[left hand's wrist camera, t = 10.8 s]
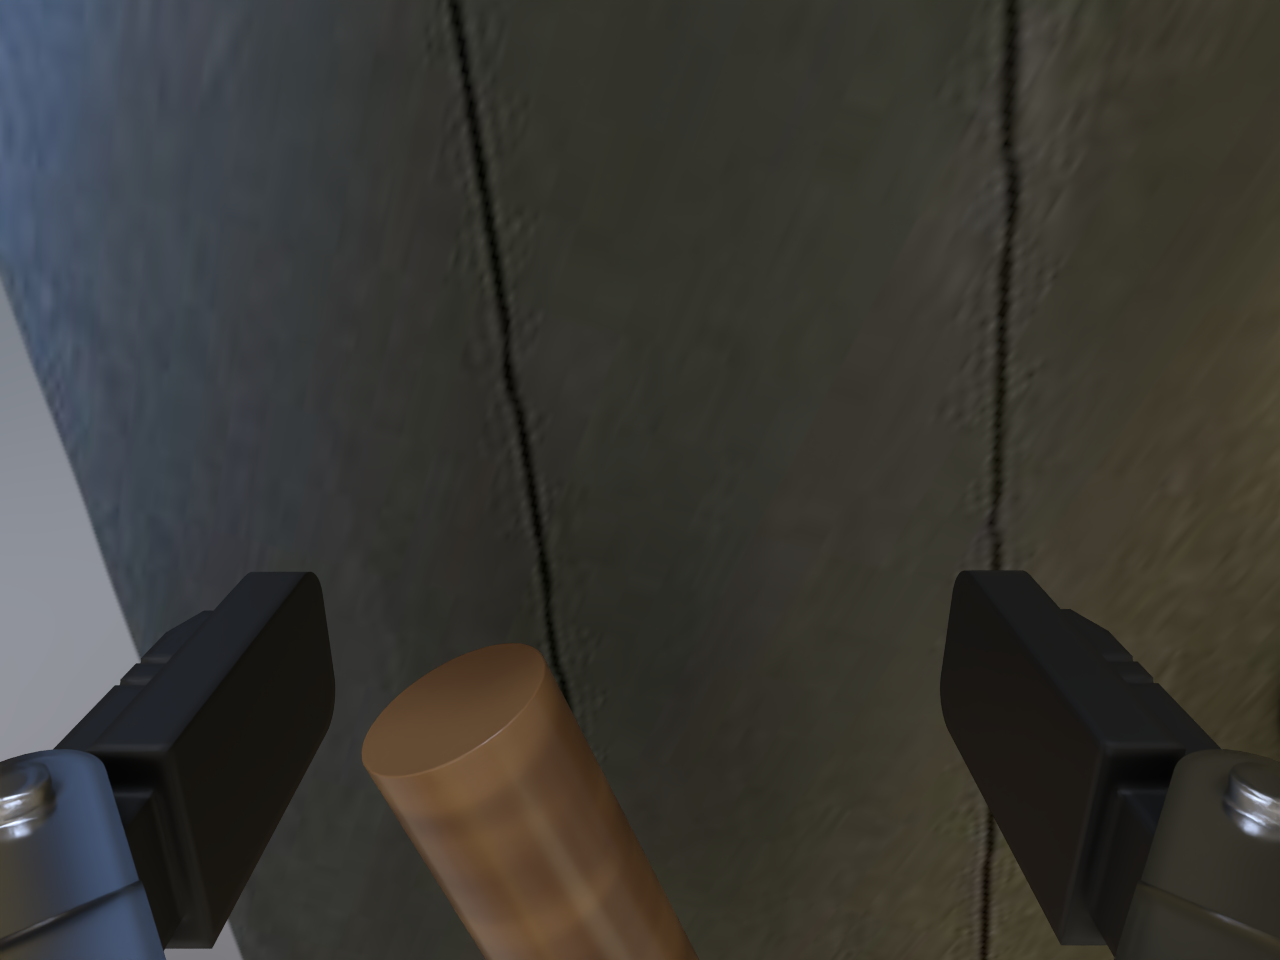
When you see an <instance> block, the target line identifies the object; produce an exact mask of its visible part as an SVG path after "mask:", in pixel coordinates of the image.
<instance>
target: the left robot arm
mask: <svg viewBox="0 0 1280 960" xmlns="http://www.w3.org/2000/svg"><path fill="white" fill-rule="evenodd" d="M1132 657H1133V656H1132V655H1131V654H1130V653H1129V652H1128V651H1127V650H1126V649H1125V648H1124V647H1123V646H1122V645H1121V644H1120V643H1119V642H1118V641H1117V640H1116V639H1115V638H1114V637H1113V636H1112V635H1111V633H1110V632H1109V631H1107V630H1106V629H1104V628H1102V627H1100V626H1099V625H1097V624H1095V623H1093V622H1092V621H1090V620H1088V619H1086V618H1085V617H1083V616H1081V615H1079V614H1078V613H1076V612H1074V611H1073V610H1071V609H1060V608H1059V607H1058V606H1057V605H1056V604H1055V602H1054V601H1053V600H1052V599H1051V598H1050V597H1049V596H1048V595H1047V594H1046V592H1045V591H1044V590H1043V589H1042V588H1041V587H1040V586H1039V585H1038V584H1037V582H1036V581H1035V580H1034V579H1033V578H1032V577H1031V576H1030V575H1029V574H1028V573H1027V572H1025V571H962V572H960V573H959V575H958V576H957V578H956V581H955V584H954V588H953V594H952V601H951V608H950V615H949V622H948V629H947V636H946V644H945V651H944V658H943V665H942V672H941V681H940V696H941V706H942V711H943V716H944V720H945V723H946V726H947V728H948V731H949V733H950V734H951V736H952V738H953V740H954V742H955V744H956V746H957V748H958V750H959V752H960V753H961V755H962V757H963V759H964V761H965V763H966V765H967V767H968V769H969V771H970V773H971V774H972V776H973V778H974V780H975V782H976V784H977V786H978V788H979V790H980V792H981V793H982V795H983V797H984V799H985V801H986V803H987V805H988V807H989V809H990V811H991V813H992V814H993V816H994V818H995V820H996V822H997V824H998V826H999V828H1000V830H1001V832H1002V834H1003V835H1004V837H1005V839H1006V841H1007V843H1008V845H1009V847H1010V849H1011V851H1012V853H1013V854H1014V856H1015V858H1016V860H1017V862H1018V864H1019V866H1020V868H1021V870H1022V872H1023V874H1024V875H1025V877H1026V879H1027V881H1028V883H1029V885H1030V887H1031V889H1032V891H1033V893H1034V894H1035V896H1036V898H1037V900H1038V902H1039V904H1040V906H1041V908H1042V910H1043V912H1044V914H1045V915H1046V917H1047V919H1048V921H1049V923H1050V925H1051V927H1052V929H1053V931H1054V933H1055V935H1056V936H1057V938H1058V940H1059V942H1060V944H1061V945H1108V947H1109V949H1110V950H1111V952H1112V954H1113V956H1114V957H1115V958H1114V960H1280V762H1278V761H1275V760H1273V759H1270V758H1266V757H1263V756H1259V755H1256V754H1251V753H1246V752H1242V751H1234V750H1226V749H1221V748H1220V747H1219V746H1218V745H1217V744H1216V743H1215V742H1214V741H1213V740H1212V739H1211V738H1210V737H1209V736H1208V735H1207V734H1206V733H1205V732H1204V730H1203V729H1202V728H1201V727H1200V726H1199V725H1198V724H1197V723H1196V722H1195V721H1194V720H1193V719H1192V718H1191V717H1190V716H1189V715H1188V714H1187V713H1186V712H1185V711H1184V710H1183V709H1182V708H1181V706H1180V705H1179V704H1178V703H1177V702H1176V701H1175V700H1174V699H1173V698H1172V697H1171V696H1170V695H1169V694H1168V693H1167V692H1166V691H1165V690H1164V689H1163V688H1162V687H1161V686H1160V685H1159V684H1158V683H1153V677H1152V676H1151V675H1150V674H1149V673H1148V672H1147V671H1146V670H1145V669H1144V668H1143V667H1142V666H1141V665H1140V664H1139V663H1138V662H1133V659H1132ZM334 703H335V678H334V671H333V664H332V657H331V650H330V643H329V636H328V629H327V622H326V615H325V608H324V601H323V594H322V588H321V585H320V582H319V579H318V578H317V576H316V575H315V574H314V573H312V572H250V573H248V574H247V575H246V576H245V577H244V578H243V579H242V580H241V581H240V582H239V583H238V584H237V586H236V587H235V588H234V589H233V590H232V591H231V592H230V593H229V594H228V595H227V597H226V598H225V599H224V600H223V601H222V602H221V603H220V604H219V605H218V606H217V608H216V609H215V610H214V611H203V612H201V613H199V614H198V615H196V616H194V617H192V618H191V619H189V620H187V621H185V622H184V623H182V624H180V625H178V626H177V627H175V628H173V629H172V630H170V631H168V632H166V633H165V634H164V635H163V636H162V637H161V638H160V639H159V640H158V641H157V642H156V644H155V645H154V646H153V647H152V648H151V649H150V650H149V651H148V652H147V653H146V654H145V655H144V656H143V657H142V658H141V663H137V664H135V665H134V666H133V667H132V668H131V669H130V670H129V671H128V672H127V673H126V675H125V676H124V677H123V678H122V679H121V682H120V685H115V686H114V687H113V688H112V689H111V690H110V691H109V692H108V693H107V694H106V695H105V696H104V697H103V698H102V699H101V701H99V702H98V703H97V705H96V706H95V707H94V708H93V709H92V710H91V711H90V712H89V713H88V714H87V715H86V716H85V717H84V718H83V719H82V720H81V721H80V722H79V723H78V724H77V725H76V726H75V727H74V728H73V729H72V730H71V731H70V732H69V734H68V735H67V736H66V737H65V738H64V739H63V740H62V741H61V742H60V743H59V744H58V745H57V746H56V747H55V748H54V749H53V750H46V751H38V752H34V753H29V754H24V755H21V756H17V757H14V758H10V759H7V760H5V761H2V762H0V960H166V958H165V955H164V949H166V948H170V949H171V948H172V949H173V948H176V949H179V948H184V949H187V948H188V949H189V948H190V949H193V948H196V949H197V948H198V949H199V948H200V949H201V948H203V949H204V948H205V949H207V948H209V949H211V948H212V947H213V946H214V944H215V942H216V940H217V938H218V936H219V934H220V932H221V931H222V929H223V927H224V925H225V923H226V921H227V919H228V917H229V915H230V914H231V912H232V910H233V908H234V906H235V904H236V902H237V900H238V899H239V897H240V895H241V893H242V891H243V889H244V887H245V885H246V883H247V882H248V880H249V878H250V876H251V874H252V872H253V870H254V868H255V867H256V865H257V863H258V861H259V859H260V857H261V855H262V853H263V851H264V850H265V848H266V846H267V844H268V842H269V840H270V838H271V836H272V835H273V833H274V831H275V829H276V827H277V825H278V823H279V821H280V819H281V818H282V816H283V814H284V812H285V810H286V808H287V806H288V804H289V803H290V801H291V799H292V797H293V795H294V793H295V791H296V789H297V787H298V786H299V784H300V782H301V780H302V778H303V776H304V774H305V772H306V771H307V769H308V767H309V765H310V763H311V761H312V759H313V757H314V755H315V754H316V752H317V750H318V748H319V746H320V744H321V742H322V740H323V739H324V737H325V735H326V733H327V731H328V729H329V726H330V723H331V719H332V715H333V710H334Z"/></svg>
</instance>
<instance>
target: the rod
mask: <svg viewBox="0 0 1280 960" xmlns="http://www.w3.org/2000/svg"><path fill="white" fill-rule="evenodd" d="M362 761H363V764H364V766H365V768H366V769H367V771H368V773H369V774H370V776H371V777H372V779H373V781H374V782H375V784H376V785H377V787H378V789H379V790H380V792H381V793H382V795H383V797H384V798H385V800H386V801H387V803H388V804H389V806H390V808H391V809H392V811H393V812H394V814H395V816H396V817H397V819H398V820H399V822H400V824H401V825H402V827H403V828H404V830H405V832H406V833H407V835H408V836H409V838H410V840H411V841H412V843H413V844H414V846H415V847H416V849H417V851H418V852H419V854H420V855H421V857H422V859H423V860H424V862H425V863H426V865H427V867H428V868H429V870H430V871H431V873H432V875H433V876H434V878H435V879H436V881H437V882H438V884H439V886H440V887H441V889H442V890H443V892H444V894H445V895H446V897H447V898H448V900H449V902H450V903H451V905H452V906H453V908H454V910H455V911H456V913H457V914H458V916H459V918H460V919H461V921H462V922H463V924H464V925H465V927H466V929H467V930H468V932H469V933H470V935H471V937H472V938H473V940H474V941H475V943H476V945H477V946H478V948H479V949H480V951H481V953H482V954H483V956H484V957H485V959H486V960H699V958H698V956H697V955H696V953H695V951H694V949H693V947H692V945H691V943H690V941H689V939H688V937H687V935H686V933H685V931H684V929H683V927H682V925H681V923H680V921H679V920H678V918H677V916H676V914H675V912H674V910H673V908H672V906H671V904H670V902H669V900H668V898H667V896H666V894H665V892H664V890H663V888H662V886H661V885H660V883H659V881H658V879H657V877H656V875H655V873H654V871H653V869H652V867H651V865H650V863H649V861H648V859H647V857H646V855H645V853H644V851H643V850H642V848H641V846H640V844H639V842H638V840H637V838H636V836H635V834H634V832H633V830H632V828H631V826H630V824H629V822H628V820H627V818H626V816H625V815H624V813H623V811H622V809H621V807H620V805H619V803H618V801H617V799H616V797H615V795H614V793H613V791H612V789H611V787H610V785H609V783H608V781H607V780H606V778H605V776H604V774H603V772H602V770H601V768H600V766H599V764H598V762H597V760H596V758H595V756H594V754H593V752H592V750H591V748H590V746H589V745H588V743H587V741H586V739H585V737H584V735H583V733H582V731H581V729H580V727H579V725H578V723H577V721H576V719H575V717H574V715H573V713H572V711H571V710H570V708H569V706H568V704H567V702H566V700H565V698H564V696H563V694H562V692H561V690H560V688H559V686H558V684H557V682H556V680H555V678H554V676H553V675H552V673H551V671H550V669H549V667H548V665H547V663H546V661H545V659H544V657H543V655H542V654H541V653H540V652H539V651H538V650H537V649H535V648H533V647H531V646H529V645H526V644H520V643H506V644H498V645H492V646H488V647H484V648H481V649H478V650H474V651H471V652H469V653H466V654H464V655H461V656H459V657H457V658H455V659H453V660H450V661H449V662H447V663H445V664H443V665H441V666H439V667H437V668H436V669H434V670H432V671H431V672H429V673H427V674H426V675H424V676H423V677H421V678H420V679H418V680H417V681H416V682H414V683H413V684H412V685H410V686H409V687H408V688H407V689H405V690H404V691H403V692H402V693H401V694H399V695H398V696H397V697H396V698H395V699H394V700H393V701H392V702H391V703H390V704H389V705H388V706H387V707H386V708H385V709H384V710H383V711H382V713H381V714H380V715H379V716H378V717H377V719H376V720H375V722H374V723H373V724H372V726H371V727H370V729H369V731H368V733H367V735H366V737H365V740H364V742H363V747H362Z"/></svg>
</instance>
